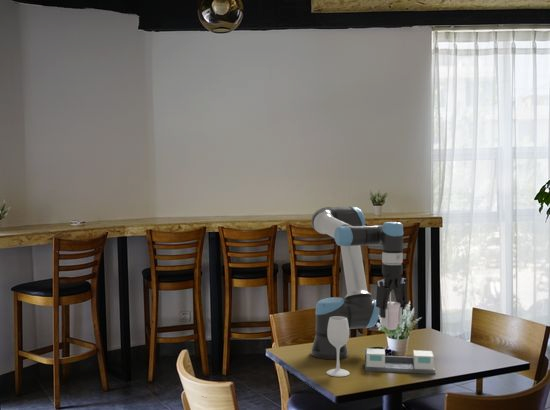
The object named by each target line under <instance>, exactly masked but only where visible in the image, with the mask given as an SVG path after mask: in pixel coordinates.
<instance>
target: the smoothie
mask: <svg viewBox="0 0 550 410" xmlns="http://www.w3.org/2000/svg"><path fill="white" fill-rule="evenodd" d="M399 307H400V303H398V302H396V301H392V291H391V292H390V295H389V301H388V303H387V307H386V309H388V327H385V328H386V330H388V331H396V330H397V327H398V324H397V322H398V314H399Z"/></svg>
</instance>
